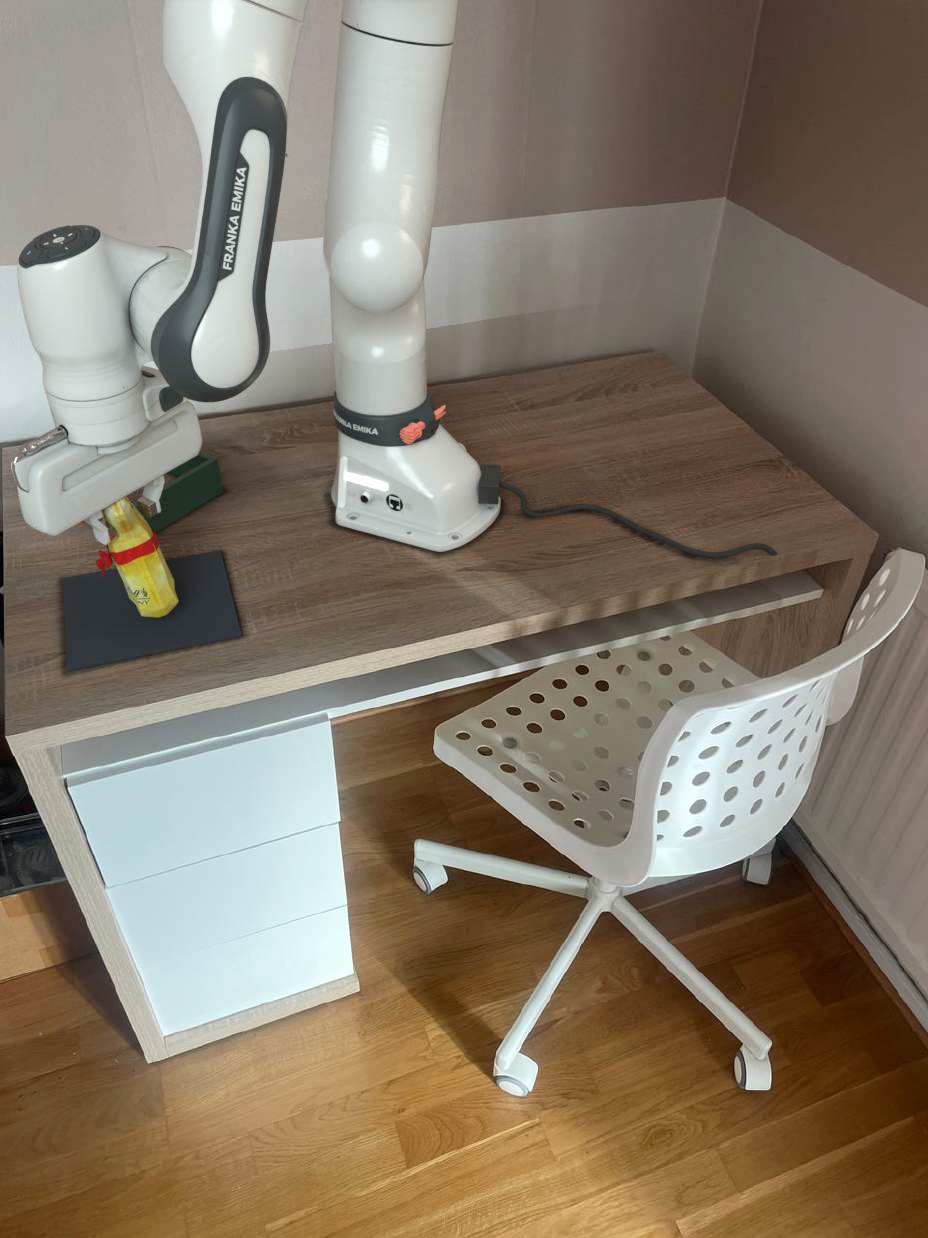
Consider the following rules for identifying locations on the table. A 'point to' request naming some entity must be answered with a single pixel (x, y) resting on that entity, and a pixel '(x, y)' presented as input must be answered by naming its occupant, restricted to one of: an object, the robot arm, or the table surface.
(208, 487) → the crate
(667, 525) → the table surface
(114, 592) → the mat
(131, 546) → the chocolate bunny
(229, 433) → the table surface
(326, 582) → the table surface
